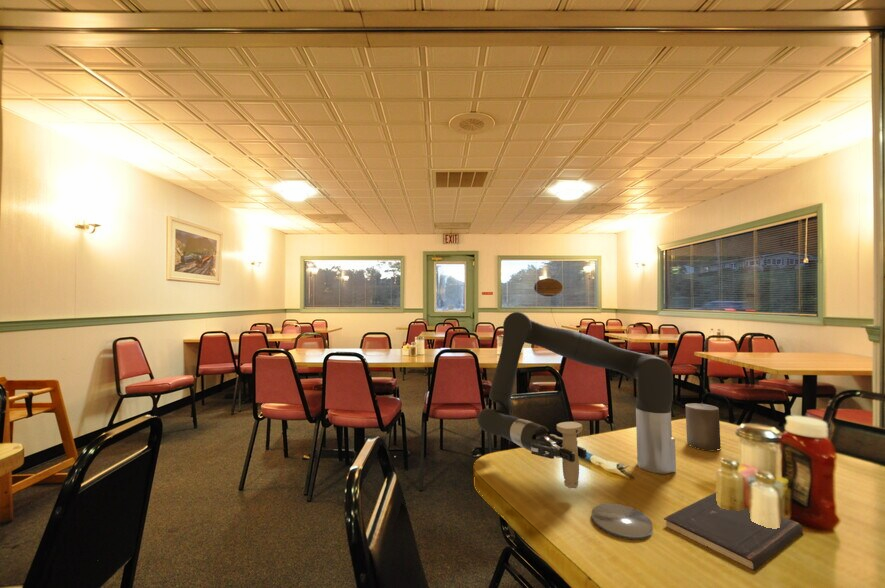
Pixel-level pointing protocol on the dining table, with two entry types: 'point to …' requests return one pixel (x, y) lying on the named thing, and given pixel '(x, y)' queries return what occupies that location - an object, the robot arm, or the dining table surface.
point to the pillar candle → (703, 426)
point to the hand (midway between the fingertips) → (579, 455)
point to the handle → (570, 444)
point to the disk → (622, 521)
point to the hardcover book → (732, 531)
